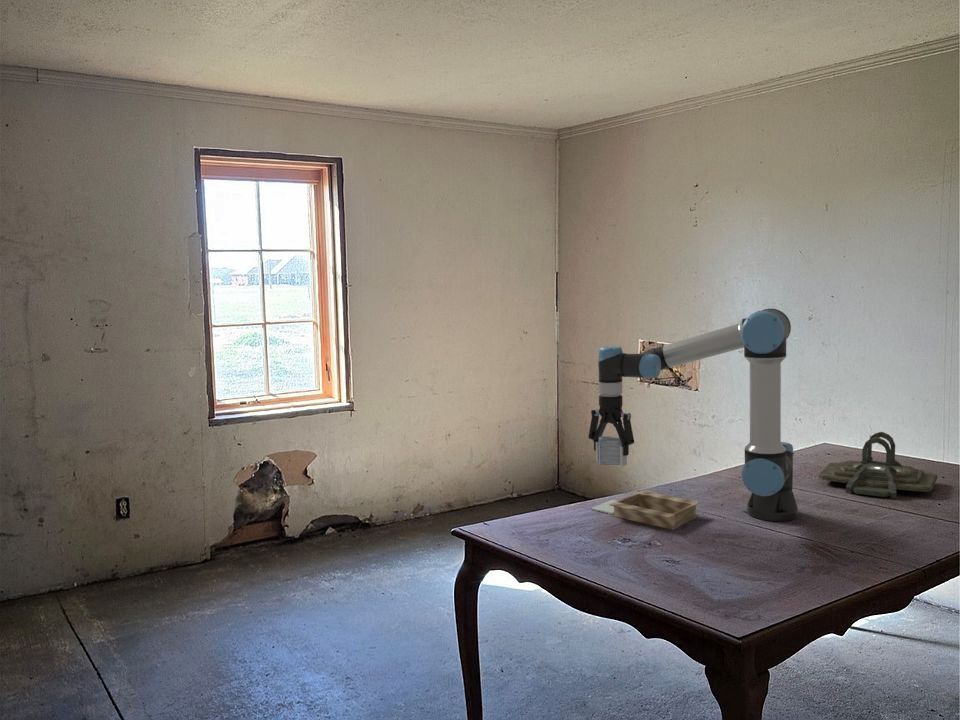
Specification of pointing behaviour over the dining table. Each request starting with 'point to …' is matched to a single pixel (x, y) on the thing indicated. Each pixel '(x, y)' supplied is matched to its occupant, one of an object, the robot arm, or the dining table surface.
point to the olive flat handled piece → (878, 472)
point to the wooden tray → (656, 509)
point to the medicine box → (609, 450)
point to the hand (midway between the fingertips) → (611, 463)
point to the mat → (605, 507)
